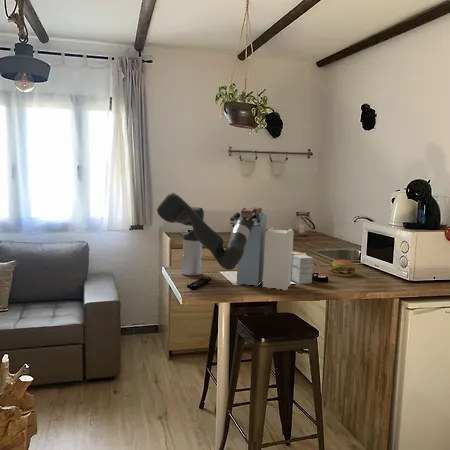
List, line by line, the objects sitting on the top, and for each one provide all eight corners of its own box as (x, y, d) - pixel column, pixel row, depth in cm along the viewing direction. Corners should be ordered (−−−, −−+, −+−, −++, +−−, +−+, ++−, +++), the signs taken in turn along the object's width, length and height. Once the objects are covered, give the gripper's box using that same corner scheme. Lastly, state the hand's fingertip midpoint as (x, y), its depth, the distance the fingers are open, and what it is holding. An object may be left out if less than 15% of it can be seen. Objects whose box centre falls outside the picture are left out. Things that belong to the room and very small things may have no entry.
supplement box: (291, 280, 234) (292, 254, 232) (304, 279, 236) (306, 254, 235) (298, 283, 227) (300, 257, 225) (312, 283, 229) (313, 257, 228)
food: (358, 278, 245) (359, 263, 244) (330, 276, 247) (331, 261, 247) (355, 273, 259) (356, 258, 258) (328, 271, 261) (329, 256, 260)
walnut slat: (250, 217, 206) (250, 211, 205) (241, 217, 207) (241, 210, 207) (261, 213, 229) (261, 207, 228) (253, 213, 230) (253, 207, 229)
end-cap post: (286, 290, 213) (290, 231, 210) (262, 287, 216) (265, 229, 213) (290, 284, 224) (293, 228, 221) (267, 282, 227) (270, 227, 224)
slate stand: (257, 286, 218) (261, 214, 214) (236, 284, 221) (239, 213, 217) (263, 280, 230) (267, 212, 227) (243, 278, 233) (246, 211, 229)
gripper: (225, 238, 204) (235, 215, 218) (258, 240, 200) (266, 217, 214) (223, 223, 200) (234, 201, 213) (257, 226, 196) (265, 203, 209)
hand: (250, 209), depth 213 cm, fingers closed on walnut slat, 4 cm apart
